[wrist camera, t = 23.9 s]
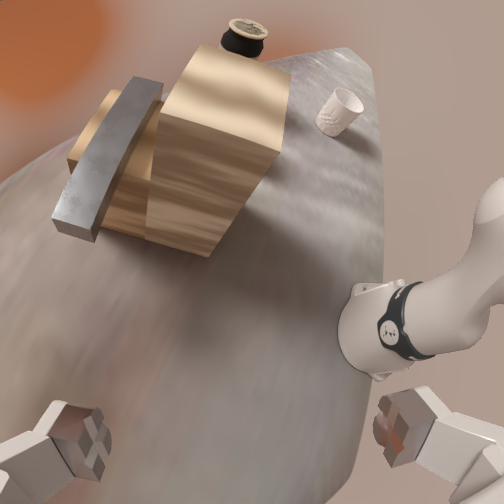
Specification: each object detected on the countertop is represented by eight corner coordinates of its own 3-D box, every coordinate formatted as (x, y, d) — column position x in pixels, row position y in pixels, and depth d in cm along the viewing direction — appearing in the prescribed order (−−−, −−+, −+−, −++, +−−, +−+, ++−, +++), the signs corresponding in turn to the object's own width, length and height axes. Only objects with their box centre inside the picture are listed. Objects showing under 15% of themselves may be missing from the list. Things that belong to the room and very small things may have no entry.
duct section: (94, 242, 26) (90, 229, 23) (58, 231, 25) (51, 217, 22) (160, 100, 34) (163, 83, 31) (131, 93, 33) (133, 76, 30)
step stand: (208, 258, 46) (280, 151, 23) (84, 221, 41) (53, 89, 18) (223, 193, 51) (290, 74, 28) (112, 160, 46) (116, 25, 23)
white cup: (315, 134, 65) (338, 106, 56) (310, 110, 68) (331, 83, 59) (343, 142, 68) (367, 117, 59) (337, 119, 70) (358, 94, 62)
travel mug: (227, 110, 58) (258, 42, 43) (196, 92, 57) (220, 23, 42) (245, 94, 62) (276, 32, 46) (215, 77, 61) (241, 14, 45)
